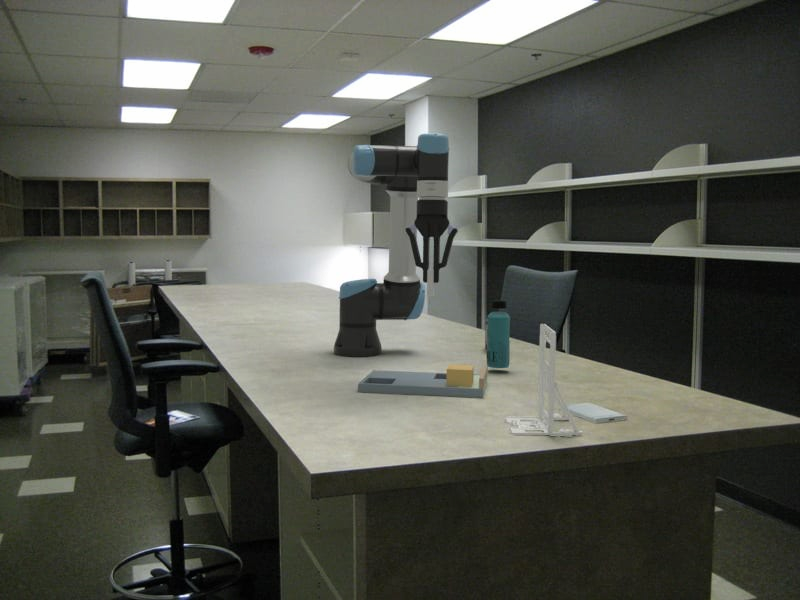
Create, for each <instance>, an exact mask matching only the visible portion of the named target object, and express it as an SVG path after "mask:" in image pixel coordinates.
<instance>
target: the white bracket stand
mask: <svg viewBox="0 0 800 600" xmlns="http://www.w3.org/2000/svg"><path fill="white" fill-rule="evenodd" d="M556 334H557V332H556V331H555V330H553V329H552V328H551V327H550V326H548V325H547V324H546V323H540V325H539V346H538V348H539V349H538V350H539V351H538V356H539V357H538V361H539V363H538V390H537V391H538V392H537V394H538V395H537V415H536V416H534V415H533V416H532V415H531V416H527V415H526V416H525V415H519V416H506V417H505V418H504V419H503V422H504V423H506V424H507V423H510V424H511V425H510V424H509V425H510V426H511V427H509V428H508V429H507V431H508V433H509V434H511V435H514V434H515V435H514V436H527V435H550V436H549V437H551V436H557V437H556V438H561V437H560V436H566V437H565V438H573V436H572V435H576V436H575V437H583V431H582V430H579V429H578V426H577V424H576V422H575V420H574V417H573V415H571V413H570V411H569V409H568V407H567V405H568V404H567V403H566V402H565V400H564V398H563V396H562V393H561V391H560V389H559V387H558V381H557V380H556V364H557V363H556V357H557V356H556V354H557V335H556ZM547 343H548V344H549V363H548V361H546V359H547V353H546V346H547ZM545 392H546V393H547V395H548V405H547V406H548V407H547V408H548V410H546V409H545ZM555 401H556V403H557V405H558V407H559V408H558V409H560V410H561V414H562V415H560V414H559V413H555ZM562 405H563V406H562ZM563 407H564V408H563ZM564 409H565V410H564ZM560 410H559V411H560ZM565 411H566V412H565ZM520 420H530V421H520ZM531 420H532V421H531ZM541 420H542V421H541ZM554 420H569V421H568V422H570V424H571V426H572V428H573V430H572V429H562V428H559V429H558V430H557V431H554V430H555V428H554V424H555V423H554V422H555V421H554ZM537 421H538V422H537ZM533 425H534V426H533ZM525 430H540V431H525ZM543 431H544V432H543Z"/></svg>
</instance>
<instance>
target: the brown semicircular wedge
mask: <svg viewBox="0 0 800 600" xmlns="http://www.w3.org/2000/svg"><path fill="white" fill-rule="evenodd" d="M484 320H485V321H484V322H485V323H484V326H485V327H484V331H485V332H484V333H485V334H484V335H485V336H484V338H485V339H484V350H485V353H487V329H488V318H485V319H484Z"/></svg>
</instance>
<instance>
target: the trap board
mask: <svg viewBox="0 0 800 600" xmlns="http://www.w3.org/2000/svg"><path fill="white" fill-rule="evenodd" d="M482 366H483V367H482V369H481V372H480V374H474V381H473V384H472V387H466V386H446V382H447V372H425V371H424V372H423V371H399V370H398V371H397V370H383V369H382V370H376V369H374V370H372V371H371V372H370V373H368V374H367V375H366V376H365V377H364V378H363V379H361V381H359V382H358V383H357V392H358V393H373V394H374V393H376V394H397V395H416V396H417V395H419V396H435V397H436V396H438V397H440V396H441V397H460V398H477V399H478V398H481V399H482V398H483V399H484V395H485V391H486V388H487V384H488V368H489V367H488V365H487V364H485V365H484V364H483V365H482Z"/></svg>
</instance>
